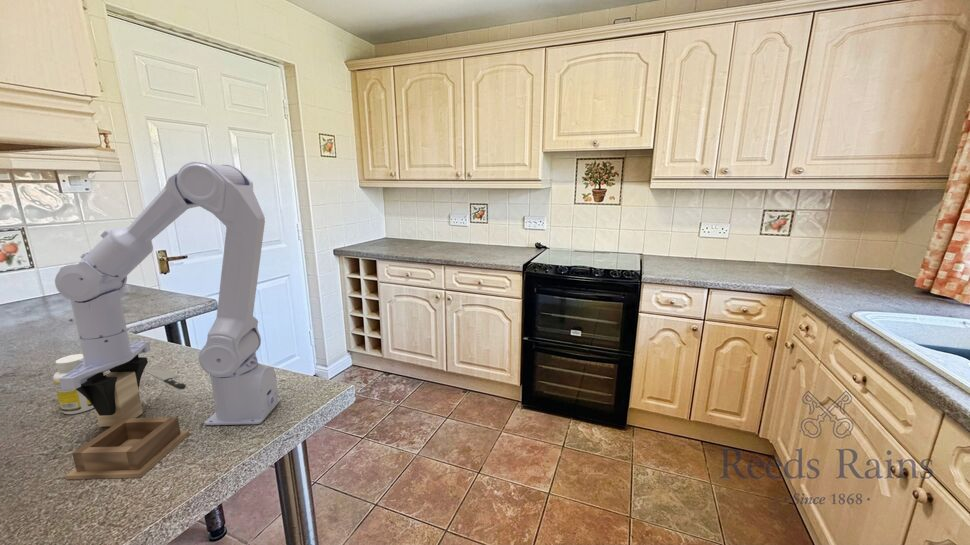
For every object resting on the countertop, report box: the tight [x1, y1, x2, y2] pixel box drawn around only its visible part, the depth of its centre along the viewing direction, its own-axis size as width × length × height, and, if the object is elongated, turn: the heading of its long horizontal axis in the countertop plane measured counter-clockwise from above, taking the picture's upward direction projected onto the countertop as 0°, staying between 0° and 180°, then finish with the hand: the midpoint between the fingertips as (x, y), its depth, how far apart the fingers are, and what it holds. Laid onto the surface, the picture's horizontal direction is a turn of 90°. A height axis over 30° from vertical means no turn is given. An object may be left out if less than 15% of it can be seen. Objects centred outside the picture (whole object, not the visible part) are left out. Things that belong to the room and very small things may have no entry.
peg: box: [95, 371, 144, 428], centre depth 66 cm, size 4×4×8 cm
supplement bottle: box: [52, 353, 95, 415], centre depth 71 cm, size 5×5×10 cm
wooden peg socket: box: [64, 416, 190, 481], centre depth 59 cm, size 10×10×4 cm
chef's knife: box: [144, 368, 186, 390], centre depth 84 cm, size 19×1×3 cm
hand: (119, 406), depth 67 cm, fingers closed on peg, 4 cm apart
